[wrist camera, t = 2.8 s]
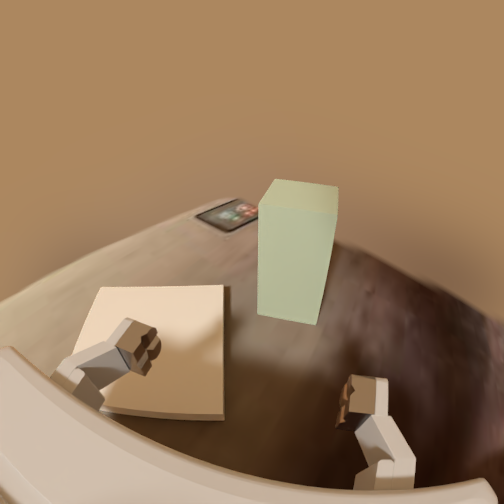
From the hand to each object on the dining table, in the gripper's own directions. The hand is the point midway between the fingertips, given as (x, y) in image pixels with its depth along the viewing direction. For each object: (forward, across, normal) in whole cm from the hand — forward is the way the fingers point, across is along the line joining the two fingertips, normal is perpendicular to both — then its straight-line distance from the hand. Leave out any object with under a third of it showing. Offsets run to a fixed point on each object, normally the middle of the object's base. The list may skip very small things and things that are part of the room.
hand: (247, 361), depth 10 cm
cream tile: (+4, +9, +8) cm, 13 cm away
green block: (+12, 0, +8) cm, 15 cm away
